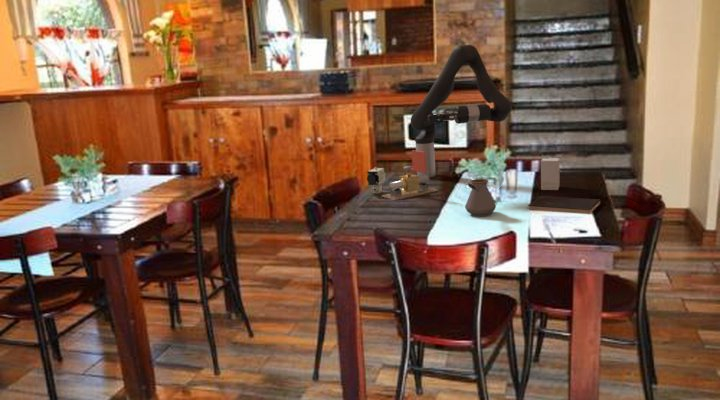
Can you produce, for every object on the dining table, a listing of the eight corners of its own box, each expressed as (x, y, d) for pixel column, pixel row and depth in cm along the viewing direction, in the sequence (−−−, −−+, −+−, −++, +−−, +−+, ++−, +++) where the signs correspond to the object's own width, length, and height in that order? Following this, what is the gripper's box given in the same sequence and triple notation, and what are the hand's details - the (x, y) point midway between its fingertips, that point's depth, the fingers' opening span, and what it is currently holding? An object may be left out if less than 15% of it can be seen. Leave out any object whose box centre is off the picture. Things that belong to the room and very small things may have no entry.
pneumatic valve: (367, 195, 284) (365, 169, 282) (378, 190, 294) (376, 165, 292) (378, 196, 282) (376, 169, 279) (389, 190, 292) (387, 165, 289)
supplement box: (558, 190, 266) (558, 160, 263) (540, 190, 269) (540, 161, 266) (560, 186, 273) (559, 157, 270) (542, 186, 275) (542, 158, 273)
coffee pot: (470, 209, 245) (468, 172, 242) (499, 210, 240) (498, 172, 237) (453, 224, 226) (452, 183, 223) (485, 225, 221) (483, 184, 218)
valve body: (424, 187, 291) (422, 165, 289) (437, 190, 283) (436, 168, 280) (381, 197, 279) (379, 174, 277) (394, 200, 271) (392, 176, 268)
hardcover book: (590, 215, 226) (590, 209, 225) (527, 210, 239) (527, 205, 238) (600, 205, 239) (600, 199, 238) (541, 201, 252) (541, 195, 251)
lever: (402, 170, 279) (400, 149, 277) (409, 169, 281) (408, 148, 279) (421, 174, 267) (420, 152, 265) (429, 172, 269) (428, 151, 267)
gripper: (460, 104, 275) (422, 108, 271) (472, 106, 262) (433, 110, 259) (461, 121, 277) (423, 125, 273) (473, 123, 264) (434, 128, 260)
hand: (428, 118), depth 266 cm, fingers closed
